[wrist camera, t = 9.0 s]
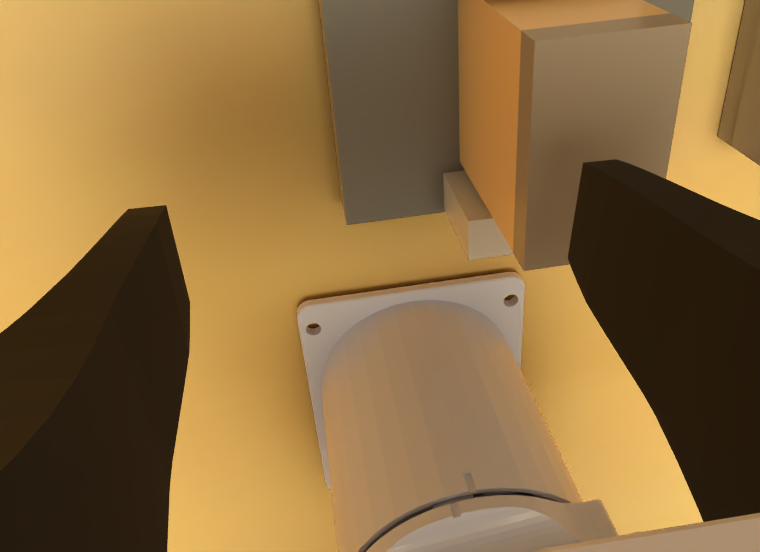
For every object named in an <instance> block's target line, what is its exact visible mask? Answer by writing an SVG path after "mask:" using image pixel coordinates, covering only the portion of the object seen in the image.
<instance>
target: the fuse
mask: <svg viewBox="0 0 760 552" xmlns="http://www.w3.org/2000/svg"><path fill="white" fill-rule="evenodd" d="M691 26H692V23H691V22H689V21H687V20H685V19H682V18H680V17H678V16H676V15H674V14H672V13H669V12H667V11H665V10H663V9H661V8H659V7H657V6H654V5H652V4H650V3H648V2H646V1H644V0H458V50H459V139H460V163H461V164H462V166H463V168H464V170H465V171H466V173H467V175H468V176H469V178H470V180H471V182H472V183H473V185H474V187H475V188H476V190H477V192H478V194H479V195H480V197H481V199H482V200H483V202H484V204H485V205H486V207H487V209H488V211H489V212H490V214H491V216H492V217H493V219H494V221H495V223H496V224H497V226H498V228H499V229H500V231H501V233H502V235H503V236H504V238H505V240H506V241H507V243H508V245H509V246H510V248H511V250H512V252H513V253H514V255H515V257H516V258H517V260H518V262H519V264H520V265H521V267H522V269H523V270H524V271H526V270H533V269H540V268H547V267H554V266H561V265H568V264H570V263H569V260H568V252H569V246H570V240H571V233H572V227H573V221H574V215H575V208H576V202H577V196H578V190H579V184H580V177H581V171H582V165H583V163H584V162H594V161H604V160H613V159H617V160H620V161H623V162H626V163H629V164H632V165H634V166H637V167H639V168H642V169H644V170H646V171H649V172H651V173H653V174H656V175H658V176H660V177H662V178H664V179H666V175H667V169H668V163H669V157H670V151H671V145H672V139H673V133H674V127H675V121H676V115H677V109H678V103H679V97H680V91H681V85H682V80H683V74H684V68H685V62H686V56H687V50H688V44H689V38H690V32H691Z"/></svg>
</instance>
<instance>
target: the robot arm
mask: <svg viewBox="0 0 760 552" xmlns="http://www.w3.org/2000/svg"><path fill="white" fill-rule="evenodd" d="M568 260H569V263H570V265H571V268H572V270H573V273H574V275H575V278H576V280H577V283H578V285H579V287H580V289H581V292H582V294H583V296H584V298H585V301H586V303H587V304H588V306H589V308H590V309H591V311H592V313H593V314H594V316H595V318H596V319H597V321H598V323H599V324H600V326H601V327H602V329H603V331H604V332H605V334H606V336H607V337H608V339H609V340H610V342H611V343H612V345H613V347H614V348H615V350H616V351H617V353H618V355H619V356H620V358H621V359H622V361H623V362H624V364H625V366H626V367H627V369H628V370H629V372H630V374H631V375H632V377H633V378H634V380H635V382H636V383H637V385H638V386H639V388H640V389H641V391H642V393H643V394H644V396H645V398H646V399H647V401H648V403H649V405H650V407H651V408H652V410H653V412H654V414H655V415H656V417H657V419H658V422H659V424H660V426H661V428H662V430H663V432H664V434H665V436H666V438H667V440H668V443H669V445H670V447H671V449H672V451H673V453H674V455H675V457H676V459H677V461H678V464H679V466H680V468H681V471H682V473H683V475H684V477H685V480H686V482H687V484H688V487H689V489H690V491H691V493H692V496H693V498H694V500H695V503H696V505H697V507H698V509H699V512H700V514H701V517H702V519H703V522H701V523H695V524H689V525H683V526H676V527H670V528H664V529H658V530H652V531H646V532H635V533H631V534H627V535H621V536H619V535H618V533H617V531H616V529H615V527H614V525H613V523H612V521H611V519H610V517H609V515H608V513H607V511H606V509H605V507H604V505H603V503H602V502H601V501H600V500H592V501H587V502H583V501H582V499H581V497H580V495H579V493H578V491H577V489H576V486H575V484H574V482H573V480H572V478H571V476H570V474H569V472H568V470H567V467H566V465H565V463H564V461H563V459H562V457H561V455H560V453H559V451H558V448H557V446H556V444H555V442H554V440H553V438H552V436H551V434H550V432H549V429H548V427H547V425H546V423H545V421H544V419H543V417H542V415H541V413H540V410H539V408H538V406H537V404H536V402H535V400H534V398H533V396H532V394H531V391H530V389H529V387H528V385H527V383H526V381H525V379H524V377H523V375H522V372H521V354H522V333H523V313H524V293H525V284H524V281H523V279H522V277H521V276H520V275H519V274H518V273H516V272H504V273H496V274H489V275H482V276H475V277H468V278H461V279H454V280H447V281H440V282H433V283H426V284H419V285H412V286H405V287H398V288H391V289H384V290H377V291H370V292H363V293H356V294H349V295H342V296H335V297H328V298H321V299H314V300H308V301H305V302H303V303H302V304H300V305H299V307H298V309H297V321H298V327H299V333H300V338H301V344H302V350H303V356H304V361H305V367H306V373H307V379H308V384H309V390H310V396H311V401H312V407H313V413H314V419H315V424H316V430H317V436H318V442H319V447H320V453H321V459H322V465H323V470H324V476H325V482H326V486H327V488H328V489H330V490H331V493H332V502H333V512H334V521H335V531H336V540H337V550H338V552H760V220H758V219H755V218H753V217H750V216H748V215H745V214H743V213H740V212H738V211H736V210H733V209H731V208H729V207H726V206H724V205H722V204H719V203H717V202H715V201H713V200H710V199H708V198H706V197H704V196H702V195H699V194H697V193H695V192H693V191H691V190H688V189H686V188H684V187H682V186H680V185H677V184H675V183H673V182H671V181H669V180H667V179H664V178H662V177H660V176H658V175H656V174H653V173H651V172H649V171H646V170H644V169H642V168H639V167H637V166H634V165H632V164H629V163H626V162H623V161H620V160H617V159H613V160H604V161H594V162H584V163H583V165H582V171H581V177H580V184H579V190H578V196H577V202H576V208H575V215H574V221H573V227H572V233H571V240H570V246H569V252H568ZM511 294H512V295H514V297H513V298H512V299H510V300H504V299H505V298H506V297H507V296H508V295H511ZM312 323H317V324H318V325H319V326H318V327H317V328H314V329H312V328H308V327H307V326H308V325H309V324H312ZM189 343H190V301H189V297H188V293H187V289H186V284H185V280H184V276H183V272H182V268H181V264H180V260H179V256H178V252H177V248H176V244H175V240H174V236H173V232H172V227H171V223H170V219H169V215H168V211H167V207H166V205H164V206H155V207H145V208H135V209H128V210H127V211H126V212H125V213H124V214H123V215H122V216H121V217H120V218H119V219H118V220H117V221H116V222H115V223H114V225H113V226H112V227H111V228H110V229H109V230H108V231H107V232H106V233H105V234H104V236H103V237H102V238H101V239H100V240H99V241H98V242H97V243H96V244H95V245H94V246H93V248H92V249H91V250H90V251H89V252H88V253H87V254H86V255H85V256H84V257H83V258H82V259H81V260H80V261H79V262H78V263H77V264H76V265H75V266H74V268H73V269H72V270H71V271H70V272H69V273H68V274H67V275H66V276H65V277H63V278H62V279H61V280H60V281H59V282H58V283H57V284H56V285H55V286H54V287H53V288H52V289H51V290H50V291H49V292H47V293H46V294H45V295H44V296H43V297H42V298H41V299H40V300H39V301H38V302H37V303H36V304H35V305H34V306H33V307H31V308H30V309H29V310H28V311H27V312H26V313H25V314H23V315H22V316H21V317H20V318H19V319H18V320H16V321H15V322H14V323H13V324H11V325H10V326H9V327H8V328H7V329H5V330H4V331H3V332H1V333H0V552H167V539H168V515H169V491H170V479H171V469H172V460H173V454H174V448H175V441H176V435H177V429H178V422H179V416H180V410H181V403H182V397H183V391H184V384H185V378H186V371H187V364H188V357H189Z"/></svg>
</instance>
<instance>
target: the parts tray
mask: <svg viewBox="0 0 760 552" xmlns="http://www.w3.org/2000/svg"><path fill="white" fill-rule="evenodd" d="M718 137H719V138H720V139H722V140H723V141H725V142H726V143H728V144H729V145H731V146H732V147H733V148H735V149H736V150H738V151H739V152H741V153H742V154H744V155H745V156H746V157H748V158H749V159H751V160H752V161H754V162H755V163H757V164H758V165H760V0H745V5H744V10H743V15H742V20H741V25H740V29H739V34H738V39H737V44H736V49H735V54H734V59H733V63H732V68H731V73H730V78H729V83H728V88H727V93H726V98H725V102H724V107H723V112H722V117H721V122H720V127H719V132H718Z"/></svg>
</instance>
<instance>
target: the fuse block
mask: <svg viewBox="0 0 760 552" xmlns="http://www.w3.org/2000/svg"><path fill="white" fill-rule="evenodd" d="M644 1H646V2H648V3H650V4H652V5H654V6H657V7H659V8H661V9H663V10H665V11H667V12H669V13H672V14H674V15H676V16H678V17H680V18H682V19H685V20H687V21H689V22H691V16H692V10H693V4H694V0H644ZM318 2H319V10H320V19H321V28H322V36H323V45H324V53H325V62H326V71H327V79H328V88H329V96H330V105H331V113H332V122H333V131H334V139H335V148H336V156H337V165H338V174H339V182H340V191H341V199H342V205H343V210H344V215H345V220H346V224H347V225H351V224H358V223H366V222H373V221H381V220H388V219H396V218H403V217H410V216H418V215H425V214H433V213H440V212H446V214H447V216H448V218H449V220H450V222H451V225H452V227H453V229H454V231H455V233H456V235H457V237H458V239H459V241H460V244H461V246H462V248H463V250H464V252H465V254H466V256H467V258H468V260H475V259H483V258H490V257H497V256H504V255H511V254H514V253H513V252H512V250H511V248H510V246H509V245H508V243H507V241H506V240H505V238H504V236H503V235H502V233H501V231H500V229H499V228H498V226H497V224H496V223H495V221H494V219H493V217H492V216H491V214H490V212H489V211H488V209H487V207H486V205H485V204H484V202H483V200H482V199H481V197H480V195H479V194H478V192H477V190H476V188H475V187H474V185H473V183H472V182H471V180H470V178H469V176H468V175H467V173H466V171H465V170H464V168H463V166H462V164H461V163H460V139H459V50H458V0H318Z"/></svg>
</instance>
